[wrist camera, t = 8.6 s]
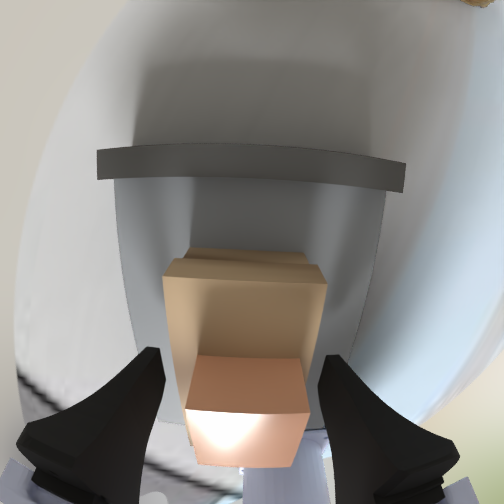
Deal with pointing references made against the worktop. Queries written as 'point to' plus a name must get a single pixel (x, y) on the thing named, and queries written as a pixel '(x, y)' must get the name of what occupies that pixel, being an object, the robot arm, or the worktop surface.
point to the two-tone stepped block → (241, 308)
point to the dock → (248, 229)
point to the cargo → (247, 411)
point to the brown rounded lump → (478, 2)
